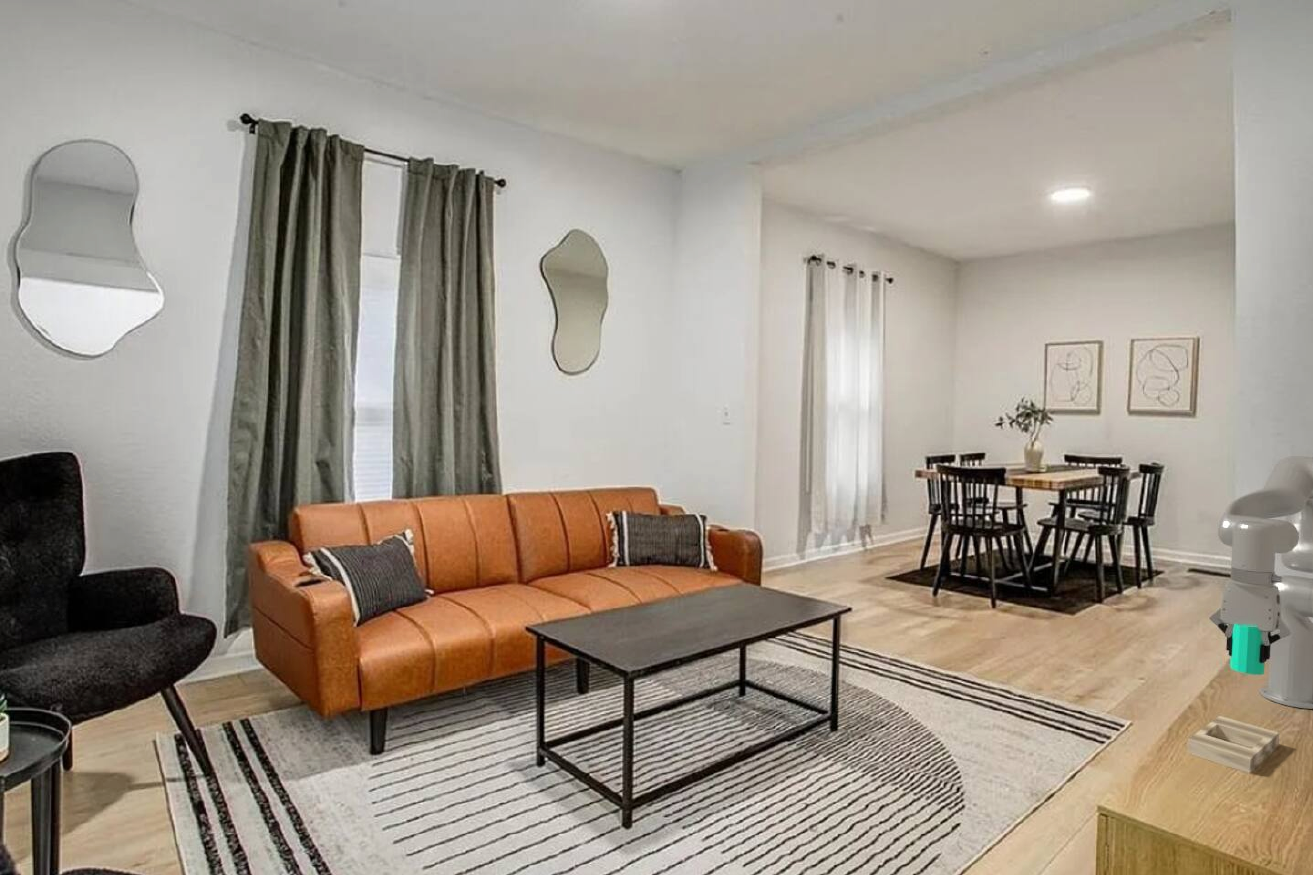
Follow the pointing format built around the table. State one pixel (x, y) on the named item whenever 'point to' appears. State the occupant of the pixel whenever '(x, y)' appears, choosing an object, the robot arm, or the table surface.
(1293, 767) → the table surface
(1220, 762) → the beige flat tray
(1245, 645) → the candle
